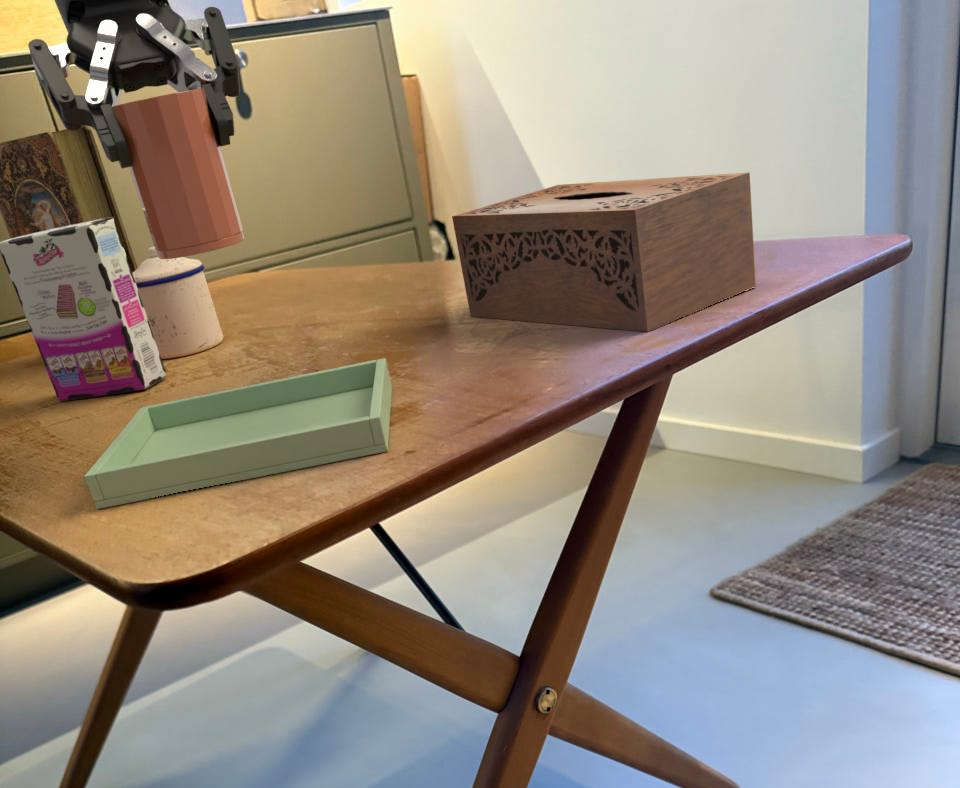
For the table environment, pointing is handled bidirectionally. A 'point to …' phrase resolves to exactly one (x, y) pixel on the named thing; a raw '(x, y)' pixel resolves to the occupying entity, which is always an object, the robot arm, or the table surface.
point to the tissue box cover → (610, 251)
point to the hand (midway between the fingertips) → (175, 146)
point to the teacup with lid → (177, 305)
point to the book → (56, 184)
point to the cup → (180, 173)
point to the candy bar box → (84, 309)
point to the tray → (246, 434)
